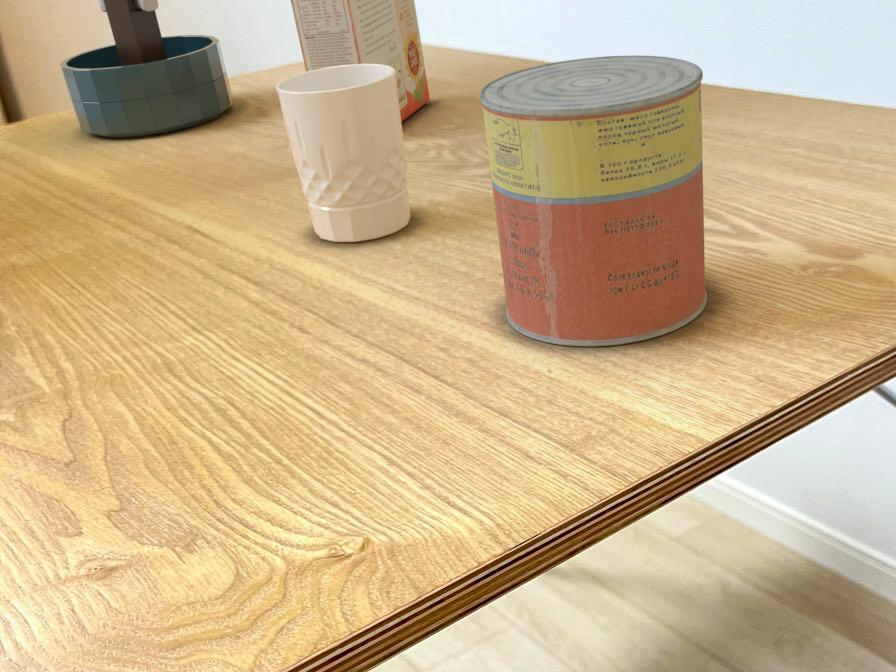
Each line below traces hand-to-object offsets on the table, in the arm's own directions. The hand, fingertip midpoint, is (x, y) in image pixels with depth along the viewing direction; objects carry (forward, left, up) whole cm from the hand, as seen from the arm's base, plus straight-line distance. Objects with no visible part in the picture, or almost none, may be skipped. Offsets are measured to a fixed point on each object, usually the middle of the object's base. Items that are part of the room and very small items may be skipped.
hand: (130, 11), depth 110 cm
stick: (0, 0, -10) cm, 10 cm away
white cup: (+43, -23, -10) cm, 50 cm away
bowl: (0, 0, -10) cm, 10 cm away
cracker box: (+26, +2, -10) cm, 28 cm away
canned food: (+66, -31, -10) cm, 74 cm away
